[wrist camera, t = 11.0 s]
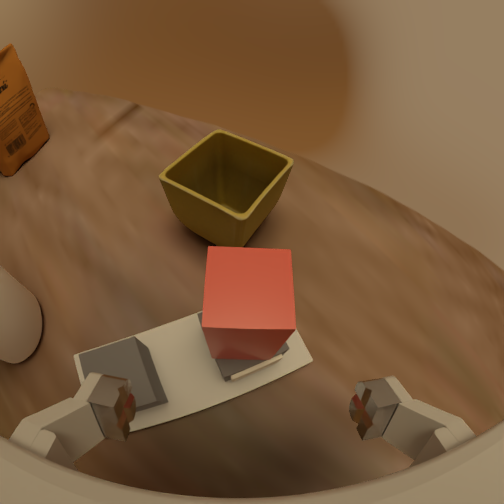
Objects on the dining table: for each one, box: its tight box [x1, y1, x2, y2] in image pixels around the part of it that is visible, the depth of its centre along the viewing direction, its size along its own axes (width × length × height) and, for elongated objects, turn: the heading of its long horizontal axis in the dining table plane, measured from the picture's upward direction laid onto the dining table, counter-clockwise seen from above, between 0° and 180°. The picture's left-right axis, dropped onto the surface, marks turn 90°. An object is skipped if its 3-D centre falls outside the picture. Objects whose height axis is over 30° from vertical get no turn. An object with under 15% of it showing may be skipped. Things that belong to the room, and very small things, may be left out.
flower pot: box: [159, 129, 294, 247], centre depth 27 cm, size 9×9×9 cm
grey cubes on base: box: [74, 311, 313, 438], centre depth 20 cm, size 20×8×6 cm, turn 115°
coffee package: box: [0, 44, 49, 176], centre depth 27 cm, size 10×12×22 cm
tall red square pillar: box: [202, 246, 296, 360], centre depth 16 cm, size 4×4×8 cm
